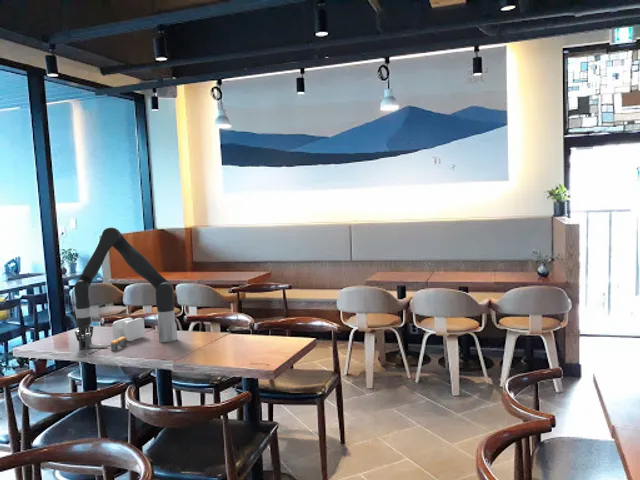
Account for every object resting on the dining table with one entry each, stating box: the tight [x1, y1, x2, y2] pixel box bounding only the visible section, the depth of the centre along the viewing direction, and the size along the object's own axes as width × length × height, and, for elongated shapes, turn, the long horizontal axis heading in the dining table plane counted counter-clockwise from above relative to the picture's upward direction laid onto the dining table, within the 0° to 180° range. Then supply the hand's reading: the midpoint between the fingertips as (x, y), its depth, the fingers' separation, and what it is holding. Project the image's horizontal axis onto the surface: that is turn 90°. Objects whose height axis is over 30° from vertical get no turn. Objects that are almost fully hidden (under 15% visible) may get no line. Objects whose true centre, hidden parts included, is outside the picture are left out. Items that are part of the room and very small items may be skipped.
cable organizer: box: [111, 317, 146, 342], centre depth 304 cm, size 15×11×12 cm
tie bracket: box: [110, 337, 127, 352], centre depth 285 cm, size 2×11×5 cm, turn 172°
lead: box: [78, 336, 109, 350], centre depth 287 cm, size 15×4×6 cm, turn 82°
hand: (85, 346), depth 287 cm, fingers closed on lead, 4 cm apart
